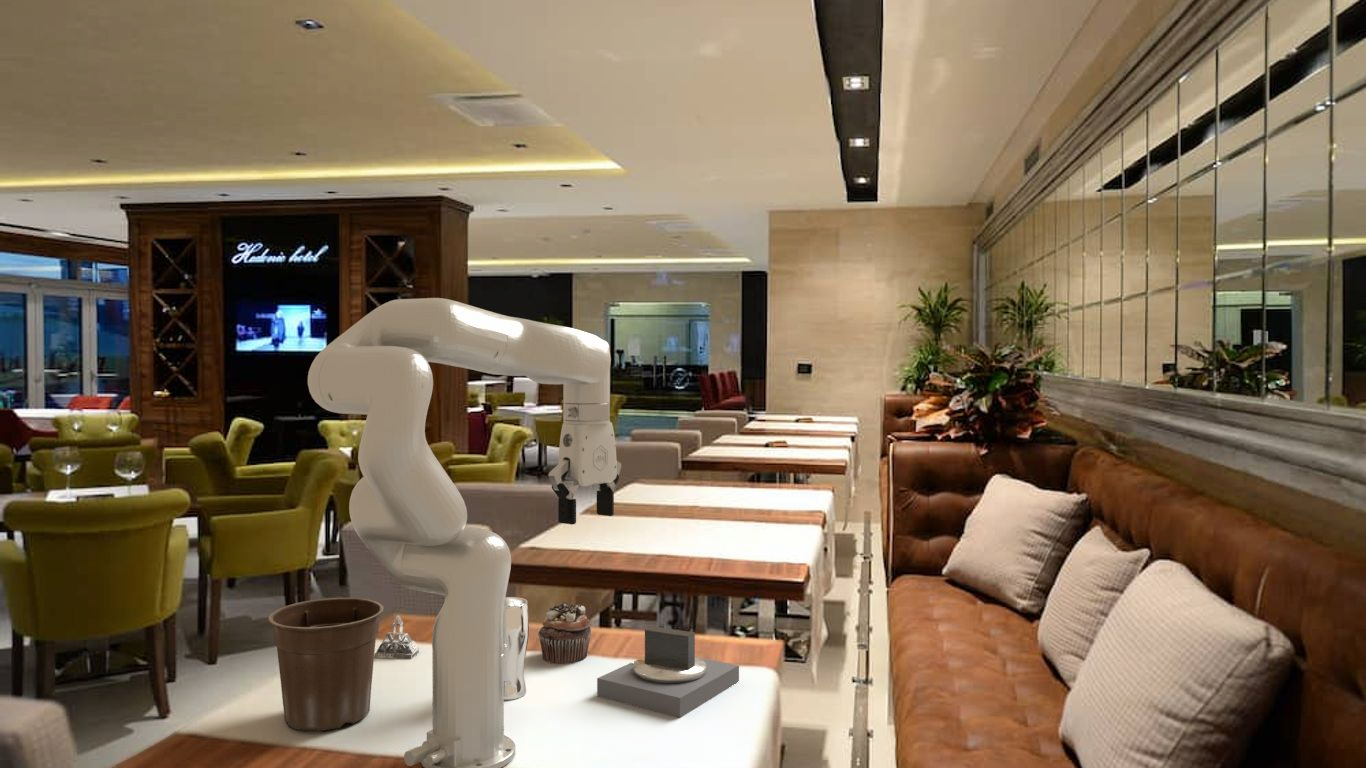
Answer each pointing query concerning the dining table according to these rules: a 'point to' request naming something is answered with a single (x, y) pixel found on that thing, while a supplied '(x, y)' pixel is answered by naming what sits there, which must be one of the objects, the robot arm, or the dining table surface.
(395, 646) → the house of cards
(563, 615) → the cupcake
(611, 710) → the dining table surface
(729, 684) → the control panel
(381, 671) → the dining table surface
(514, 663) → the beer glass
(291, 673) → the plant pot
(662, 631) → the dial
